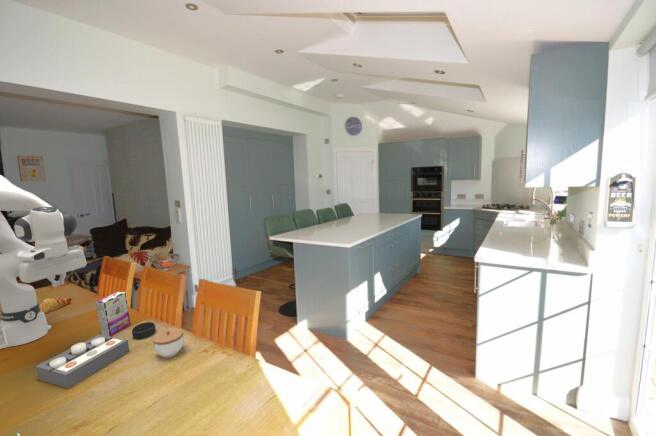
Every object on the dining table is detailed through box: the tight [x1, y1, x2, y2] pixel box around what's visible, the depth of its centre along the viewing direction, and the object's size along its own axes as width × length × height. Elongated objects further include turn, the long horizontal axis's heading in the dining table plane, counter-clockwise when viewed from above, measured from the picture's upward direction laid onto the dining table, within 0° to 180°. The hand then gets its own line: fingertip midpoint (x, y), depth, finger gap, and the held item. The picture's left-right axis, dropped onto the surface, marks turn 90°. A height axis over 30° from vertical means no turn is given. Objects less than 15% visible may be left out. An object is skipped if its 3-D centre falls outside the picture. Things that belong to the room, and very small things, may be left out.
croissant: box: [38, 297, 72, 314], centre depth 166 cm, size 21×10×8 cm, turn 150°
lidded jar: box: [152, 327, 185, 359], centre depth 122 cm, size 11×11×9 cm
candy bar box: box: [95, 291, 131, 337], centre depth 140 cm, size 11×5×16 cm, turn 168°
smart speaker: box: [131, 321, 157, 340], centre depth 137 cm, size 9×9×4 cm
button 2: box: [70, 341, 87, 357], centre depth 117 cm, size 4×4×4 cm
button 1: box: [49, 357, 67, 369], centre depth 110 cm, size 4×4×4 cm
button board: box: [35, 334, 130, 389], centre depth 116 cm, size 16×22×6 cm
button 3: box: [91, 337, 105, 347], centre depth 123 cm, size 4×4×4 cm
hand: (58, 285), depth 118 cm, fingers closed
